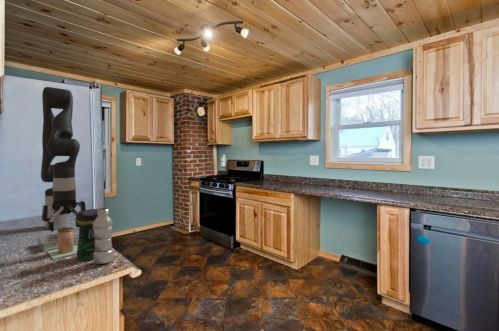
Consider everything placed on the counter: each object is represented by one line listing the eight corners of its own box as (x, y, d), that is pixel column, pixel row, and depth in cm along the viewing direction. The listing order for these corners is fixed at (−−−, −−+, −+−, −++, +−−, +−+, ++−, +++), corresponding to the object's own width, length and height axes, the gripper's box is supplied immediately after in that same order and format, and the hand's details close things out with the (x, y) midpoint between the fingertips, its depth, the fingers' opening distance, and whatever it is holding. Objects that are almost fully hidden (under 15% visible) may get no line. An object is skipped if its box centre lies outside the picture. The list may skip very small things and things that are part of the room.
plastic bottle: (105, 267, 93) (104, 211, 92) (88, 265, 94) (88, 210, 93) (117, 260, 99) (117, 207, 98) (102, 258, 101) (101, 206, 100)
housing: (37, 244, 113) (37, 236, 113) (70, 238, 122) (70, 231, 122) (43, 252, 105) (43, 243, 105) (78, 244, 114) (78, 237, 114)
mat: (47, 252, 105) (47, 251, 105) (76, 246, 113) (76, 245, 113) (53, 259, 99) (53, 258, 99) (83, 252, 106) (83, 251, 106)
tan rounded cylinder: (56, 251, 106) (56, 229, 105) (71, 247, 110) (71, 226, 109) (59, 254, 102) (59, 232, 102) (75, 251, 106) (75, 229, 106)
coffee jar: (81, 263, 96) (80, 213, 95) (74, 257, 101) (74, 209, 100) (109, 256, 103) (109, 209, 102) (101, 250, 108) (101, 206, 108)
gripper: (82, 186, 112) (82, 223, 113) (39, 189, 102) (40, 230, 103) (87, 188, 107) (88, 227, 108) (44, 191, 97) (44, 235, 98)
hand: (65, 228), depth 105 cm, fingers open, 8 cm apart
